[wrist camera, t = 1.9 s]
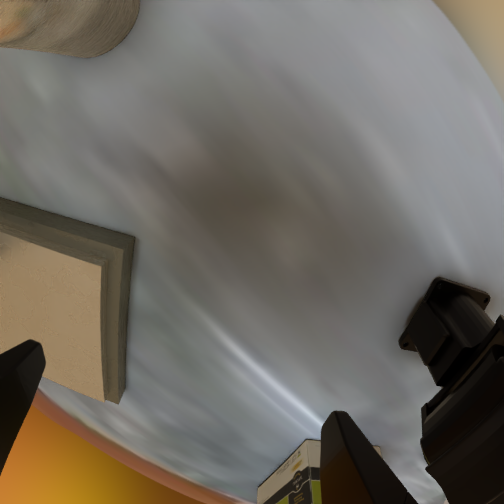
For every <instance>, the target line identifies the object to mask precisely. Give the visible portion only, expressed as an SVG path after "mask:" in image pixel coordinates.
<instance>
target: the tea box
mask: <svg viewBox="0 0 504 504" xmlns="http://www.w3.org/2000/svg"><path fill="white" fill-rule="evenodd" d="M373 447H374V448H375V450H376V451H377V452H378V453H379V455H380V456H381V452H380V448H379V447H377V446H373ZM320 450H321V441H316V440H306V441H305V442H304V443H303V444H302V445H301V446H300V447H299V448H298V449H297V450H296V451H295V453H294V454H293V455H292V456H291V457H290V458H289V459H288V460H287V461H286V462H285V463H284V464H283V465H282V466H281V467H280V468H279V469H278V470H277V471H276V472H275V473H274V474H273V475H272V476H271V477H270V478H268V479H267V480H266V481H265V482H264V483H263V484H262V485H261V486H260V487H259V488H258V489H257V504H322V501H321V486H320ZM381 457H382V456H381Z"/></svg>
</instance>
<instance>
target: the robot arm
mask: <svg viewBox="0 0 504 504" xmlns="http://www.w3.org/2000/svg"><path fill="white" fill-rule="evenodd" d="M440 283H441V285H440V286H438V285H439V284H440ZM484 299H485V300H484ZM489 301H490V296H489V294H488V293H486V292H483V291H480V290H477V289H474V288H471V287H468V286H465V285H462V284H459V283H456V282H453V281H450V280H447V279H444V278H440V277H439V278H437V279H435V280H434V282H433V284H432V286H431V287H430V289H429V291H428V293H427V295H426V297H425V298H424V300H423V302H422V304H421V305H420V307H419V309H418V311H417V312H416V314H415V316H414V318H413V319H412V321H411V323H410V324H409V326H408V328H407V329H406V331H405V332H404V334H403V336H402V337H401V339H400V340H399V346H400V348H401V349H404V350H410V351H415V352H418V353H419V355H420V357H421V359H422V361H423V363H424V365H425V366H427V367H428V369H429V371H430V373H431V375H432V377H433V379H434V382H435V384H436V386H441V387H442V389H441V390H440V391H439V392H438V393H437V394H436V395H435V396H434V397H433V398H432V399H431V400H430V401H429V402H428V403H426V404H425V405H424V406H423V407H422V408H421V416H422V438H421V439H420V444H421V448H422V451H423V455H424V459H425V460H426V462H427V464H428V466H427V467H426V468H425V470H426V471H427V472H428V473H429V474H430V475H431V476H432V477H433V478H434V479H435V480H436V481H437V483H438V484H439V485H440V487H441V488H442V490H443V492H444V494H445V496H446V498H447V500H448V502H449V504H504V316H503V315H501V314H500V316H499V317H498V319H497V320H496V324H494V322H493V321H492V320H491V319H490V317H489V316H488V315H487V314H486V313H485V311H484V310H485V308H486V307H487V305H488V303H489ZM405 342H406V343H405ZM404 343H405V344H404ZM45 366H46V359H45V355H44V351H43V347H42V344H41V343H40V342H37V341H35V340H33V339H28V340H26V341H24V342H22V343H21V344H19V345H17V346H15V347H13V348H11V349H9V350H7V351H5V352H3V353H2V354H0V475H1V472H2V470H3V467H4V465H5V462H6V460H7V458H8V455H9V453H10V450H11V448H12V446H13V443H14V441H15V439H16V437H17V434H18V432H19V430H20V428H21V426H22V423H23V421H24V419H25V417H26V415H27V413H28V411H29V409H30V406H31V404H32V401H33V399H34V396H35V393H36V390H37V388H38V385H39V382H40V380H41V377H42V375H43V372H44V369H45ZM320 486H321V501H322V504H418V503H417V502H416V500H415V499H414V498H413V497H412V495H411V494H410V493H409V492H407V489H406V488H405V487H404V485H403V484H402V483H401V482H400V480H399V479H398V478H397V477H396V475H395V474H394V473H393V471H392V470H391V469H390V468H389V466H388V465H387V464H386V462H385V461H384V460H383V459H382V457H381V456H380V455H379V453H378V452H377V451H376V450H375V448H374V447H373V446H372V444H371V443H370V442H369V441H368V439H367V438H366V437H365V435H364V434H363V433H362V431H361V430H360V429H359V428H358V426H357V425H356V424H355V422H354V421H353V420H352V418H351V417H350V416H349V414H348V413H347V412H345V411H333V412H332V413H331V414H330V415H329V417H328V418H327V420H326V421H325V423H324V424H323V426H322V429H321V450H320Z"/></svg>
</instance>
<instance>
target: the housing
mask: <svg viewBox="0 0 504 504" xmlns="http://www.w3.org/2000/svg"><path fill="white" fill-rule="evenodd" d="M139 6H140V0H0V47H2V48H14V49H24V50H33V51H41V52H49V53H56V54H62V55H69V56H75V57H81V58H91V57H96V56H99V55H102V54H104V53H106V52H108V51H110V50H111V49H113V48H114V47H116V46H117V45H118V44H119V43H120V42H121V41H122V40H123V39H124V38H125V37H126V36H127V34H128V33H129V32H130V30H131V29H132V27H133V25H134V23H135V21H136V19H137V16H138V12H139Z"/></svg>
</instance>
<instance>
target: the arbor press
mask: <svg viewBox="0 0 504 504" xmlns="http://www.w3.org/2000/svg"><path fill="white" fill-rule="evenodd" d="M134 241H135V237H133V236H129V235H126V234H122V233H119V232H115V231H112V230H108V229H105V228H101V227H98V226H95V225H91V224H88V223H84V222H81V221H77V220H74V219H70V218H67V217H64V216H60V215H57V214H53V213H50V212H47V211H43V210H40V209H37V208H33V207H30V206H27V205H23V204H20V203H17V202H13V201H10V200H7V199H4V198H0V354H2V353H3V352H5V351H7V350H9V349H11V348H13V347H15V346H17V345H19V344H21V343H22V342H24V341H26V340H28V339H33V340H35V341H37V342H40V343H41V344H42V347H43V351H44V355H45V359H46V366H45V369H44V372H43V375H42V376H43V377H45V378H47V379H50V380H52V381H54V382H56V383H58V384H61V385H63V386H65V387H67V388H70V389H72V390H74V391H77V392H79V393H82V394H84V395H87V396H89V397H92V398H94V399H97V400H99V401H102V402H105V400H108V401H111V402H114V403H116V404H119V402H120V400H121V398H122V395H123V393H124V391H125V360H126V333H127V315H128V301H129V288H130V277H131V267H132V258H133V249H134Z"/></svg>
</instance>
